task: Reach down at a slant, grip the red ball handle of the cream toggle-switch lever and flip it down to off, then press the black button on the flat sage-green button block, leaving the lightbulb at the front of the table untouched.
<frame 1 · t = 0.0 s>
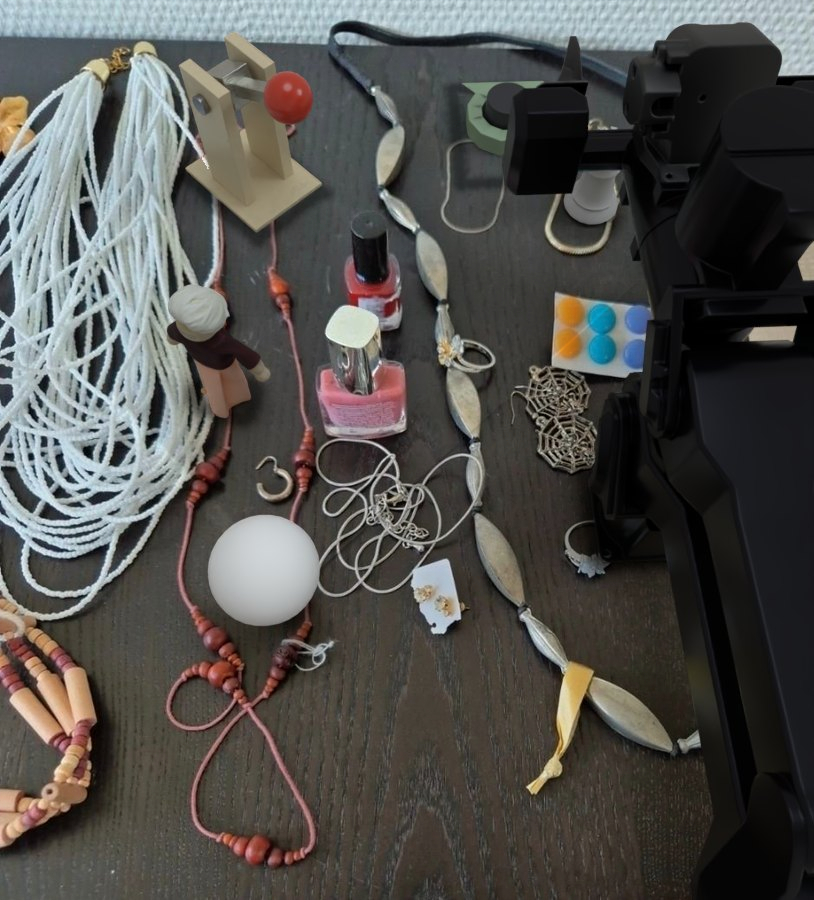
hand: (645, 40, 49), 17 cm above the table, tool horizontal, fingers open, 9 cm apart
lightbulb: (284, 603, 51), on the table
switch bracket: (255, 185, 65), on the table
button block: (503, 134, 68), on the table
rook chess piece: (586, 216, 64), on the table
black button: (507, 106, 65), point 3 cm above the table, slide at 0.1 cm
switch lever: (259, 91, 54), point 12 cm above the table, hinge at 25.0°
grandmother figurine: (233, 401, 57), on the table
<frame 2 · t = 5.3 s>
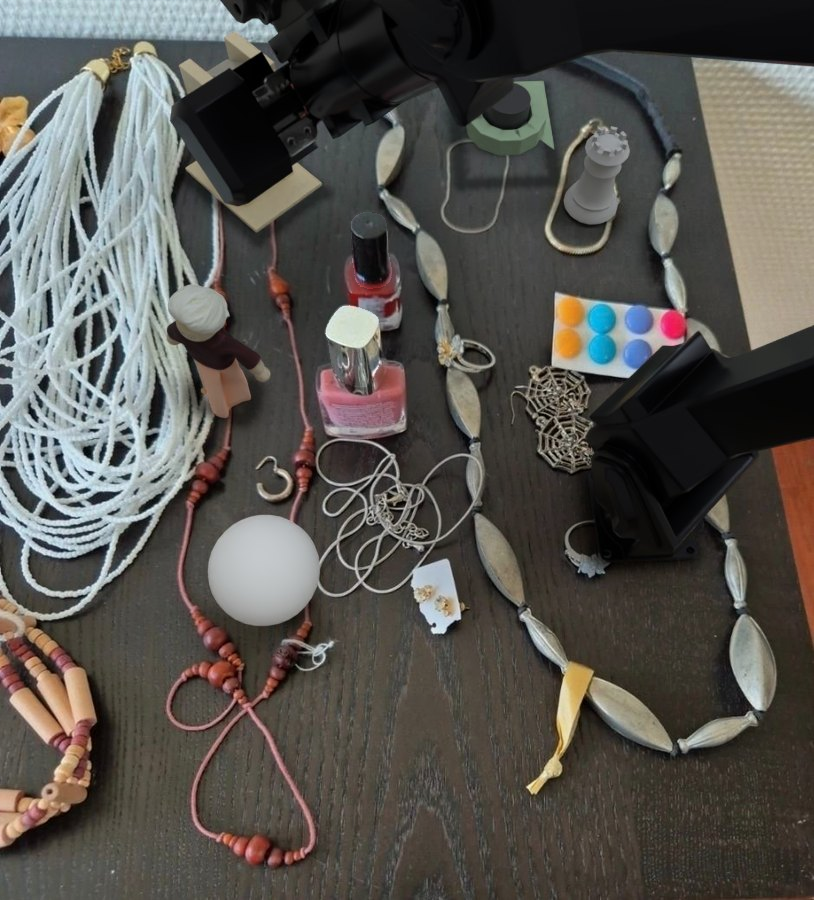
hand: (278, 105, 53), 12 cm above the table, tool tilted 45°, fingers closed on switch lever, 3 cm apart
switch lever: (259, 91, 54), point 12 cm above the table, hinge at 25.0°, touching gripper
everything else where it was.
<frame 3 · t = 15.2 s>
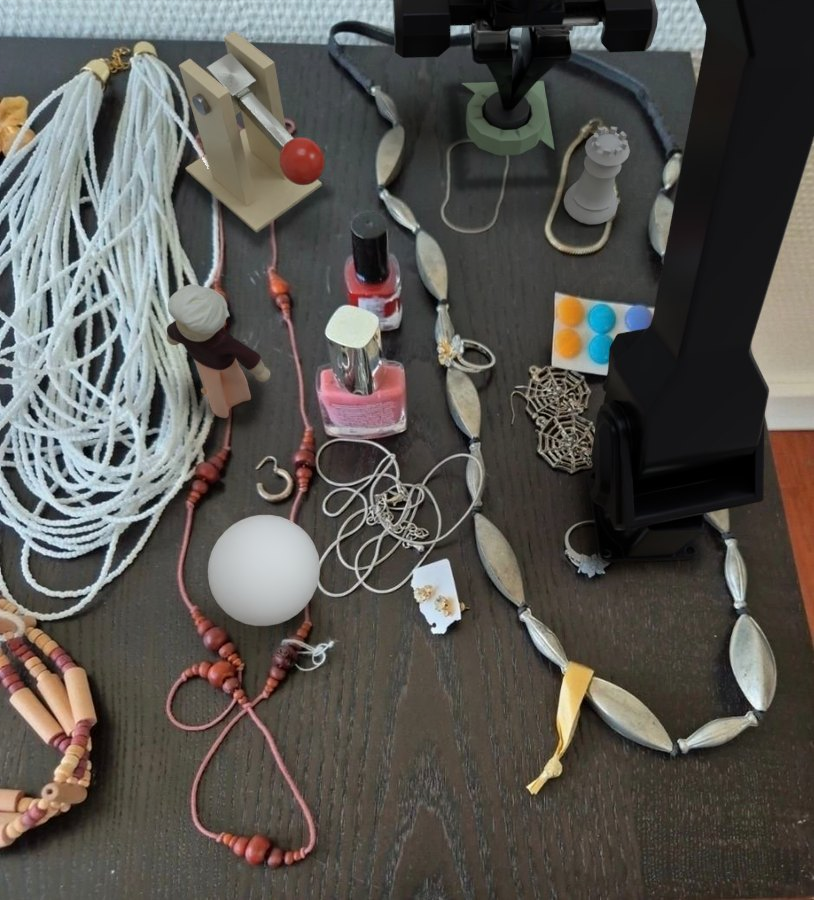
hand: (507, 105, 65), 3 cm above the table, tool pointing down, fingers closed, pressing on black button
black button: (506, 113, 66), point 2 cm above the table, slide at -0.7 cm, touching gripper
switch lever: (267, 124, 56), point 9 cm above the table, hinge at -15.7°
everything else where it was.
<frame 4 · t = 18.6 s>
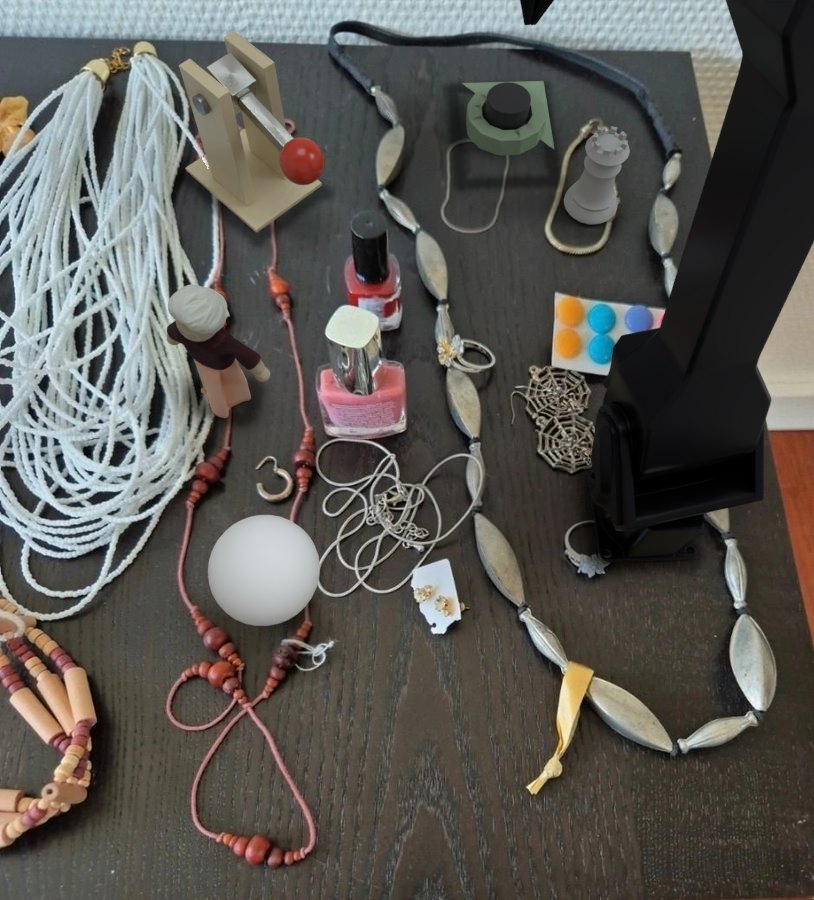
hand: (529, 20, 55), 13 cm above the table, tool pointing down, fingers closed
black button: (507, 106, 65), point 3 cm above the table, slide at 0.1 cm
everything else where it was.
at the end: switch lever at -16° (first picture: +25°); black button pushed in 1.1 cm at the most during the clip, back to where it started at the end; lightbulb moved 0.2 cm from its start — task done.
